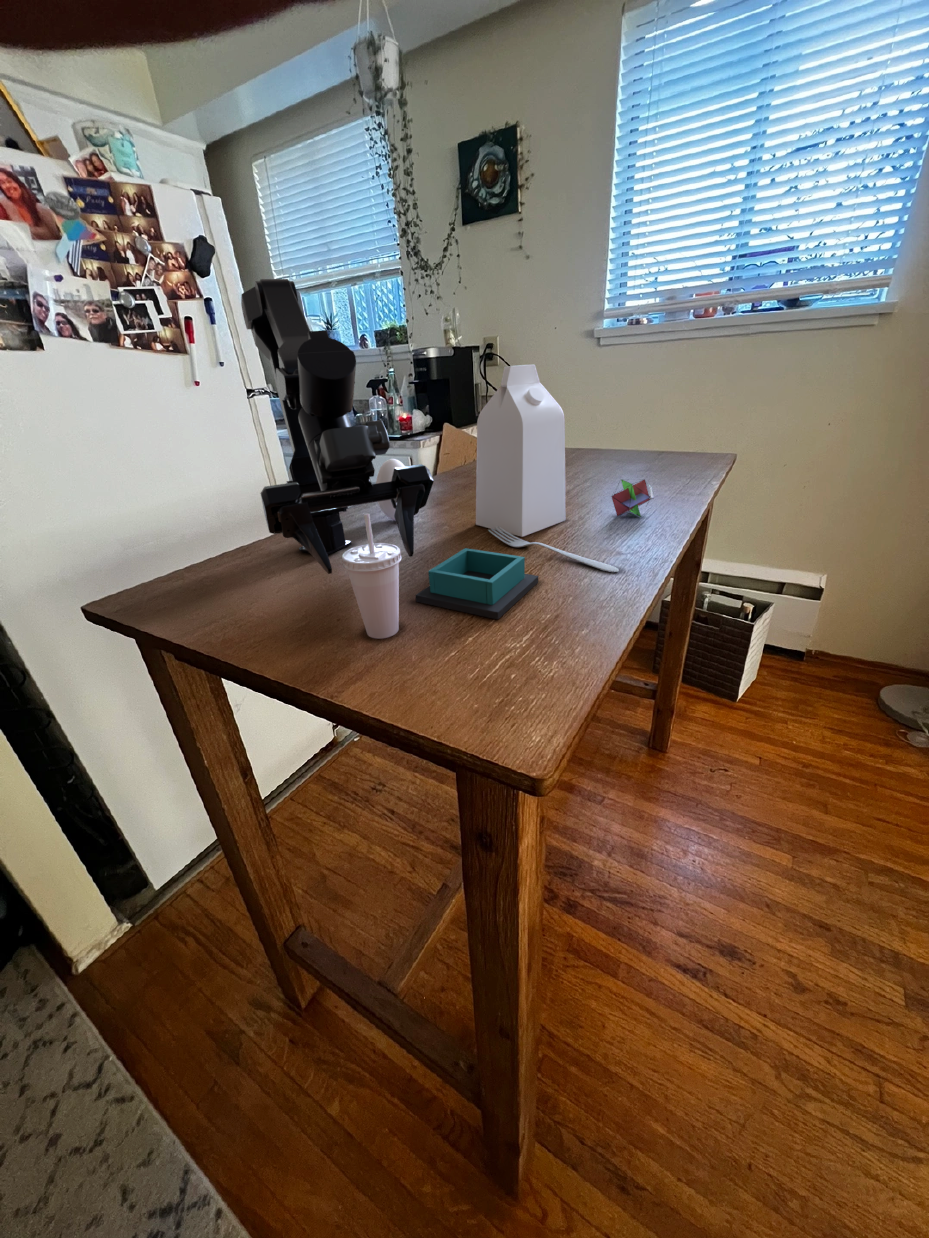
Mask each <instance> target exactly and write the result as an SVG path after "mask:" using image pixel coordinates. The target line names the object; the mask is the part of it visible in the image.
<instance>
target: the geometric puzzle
mask: <svg viewBox="0 0 929 1238" xmlns="http://www.w3.org/2000/svg"><path fill="white" fill-rule="evenodd" d="M620 482H621V485H622V489H621V490H619V491H618V492H617V489H618V488H615V490H614V493H612V495H611V496H610V498H611V501H612V504H613V507H614V510H615V514H616V517H620V518H621V517H623V518H625V517H626V516H623V515H625V514H627V513H632V514H633V515H636V517H638V518H642V515H641V512H640V508H639V507H641V506H642V505H643V504H646V503H647V504H646V506H648V505H649V503H650V501H652V500H654V498H655V497H654V489H653V487H652V486H651V485H650V483H649V482H648V481H647V480H646V478H644V479H640V481H637V482H633V483H632V482H629V481H627V480H625V479H623V478H620V481H619V482H618V483H617V486H616V487H619V485H620ZM648 487H649V488H648ZM649 489H650V490H649Z"/></svg>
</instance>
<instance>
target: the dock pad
mask: <svg viewBox="0 0 929 1238" xmlns="http://www.w3.org/2000/svg"><path fill="white" fill-rule="evenodd" d="M525 559H526V557H525V556H520V555H515V554H507V553H500V552H493V551H488V550H487V551H486V550H479V549H474V548H468V547H465V548H463V549H461V550H460V551H458V552H457V553H455V554H453V555H452V556H450V557H449V558H447V559H446V560H445V559H444V561H442V562H440V563H439V564H437V565H436V566H434V567H432V568H430V569H429V570H428V571H427V573H428V574H427V575H428V582H429V585H428V586H427V587H425V588H423V589H422V590H421V591H419V592H417V593H416V594H415V602H417V603H420V604H425V605H428V606H429V605H430V606H433V607H439V608H443V609H447V610H452V611H457V612H461V613H465V614H470V615H475V616H479V617H483V618H484V617H485V618H488V619H492V620H497V621H498V620H499V619H500V618H501V617H503V616H504V615H505V614H506V613H507V612H508V611H509V610H510V609H512V608H513V606H514V605H515V604H517V603H518V602H519V601H520V600H521V599H522V598H523V597H524V596H525V595H526V594H528V593H529V592H530V591H531V590H532V589H533V588H534V587H535V586H536V585H538V583H539V575H537V574H536V575H535V574H528V573H525V572H526V571H525V569H526V564H525V563H526V562H525V561H526V560H525Z"/></svg>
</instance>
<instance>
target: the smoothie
mask: <svg viewBox="0 0 929 1238" xmlns="http://www.w3.org/2000/svg"><path fill="white" fill-rule="evenodd" d="M370 515H371V514H370V513H368V512H367V513H364V514H363V518H364V523H365V530H366V538H367V543H365V544H360V545H357V546H353V547H351V548H349V549H347V550H345V551H344V552H343V553H342V555H341V561H342V563H341V564H342V567H343V568H345V570H346V572H347V574H348V577H349V581H350V584H351V587H352V590H353V593H354V597H355V600H356V603H357V606H358V609H359V612H360V616H361V619H362V622H363V625H364V628H365V629H364V630H365V631H366V635H367V636H368V637H370V638H372V639H386V638H387V639H388V638H390V637H392V636H395V635H396V634H397V633H398V632H399V625H400V621H399V620H400V618H399V617H400V616H399V615H400V614H399V613H400V612H399V611H400V610H399V607H400V605H399V604H400V603H399V602H400V600H399V599H400V594H399V593H400V590H399V589H400V588H399V587H400V564H399V563H400V562H401V560H402V553H401V548H400V547H399V546H397V545H395V544H392V543H387V542H374V536H373V530H372V523H371V516H370Z"/></svg>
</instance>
